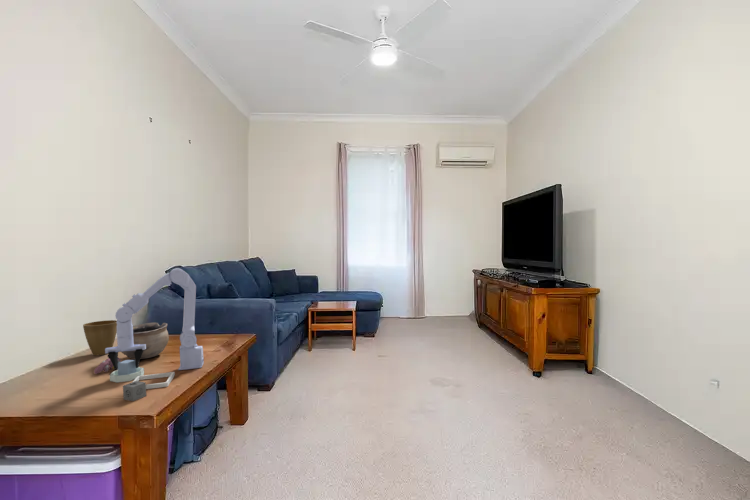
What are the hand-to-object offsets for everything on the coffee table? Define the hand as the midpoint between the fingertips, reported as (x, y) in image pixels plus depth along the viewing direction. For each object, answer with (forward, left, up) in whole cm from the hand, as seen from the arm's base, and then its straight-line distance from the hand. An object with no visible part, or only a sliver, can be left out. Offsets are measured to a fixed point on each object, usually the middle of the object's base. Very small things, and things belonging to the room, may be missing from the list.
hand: (126, 368), depth 168 cm
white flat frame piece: (-12, +12, -4) cm, 17 cm away
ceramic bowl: (+1, -31, -4) cm, 31 cm away
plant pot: (+24, -48, -4) cm, 54 cm away
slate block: (0, 0, -3) cm, 3 cm away
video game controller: (+11, -14, -4) cm, 18 cm away
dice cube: (-10, +27, -4) cm, 29 cm away
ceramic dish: (0, 0, -4) cm, 4 cm away
